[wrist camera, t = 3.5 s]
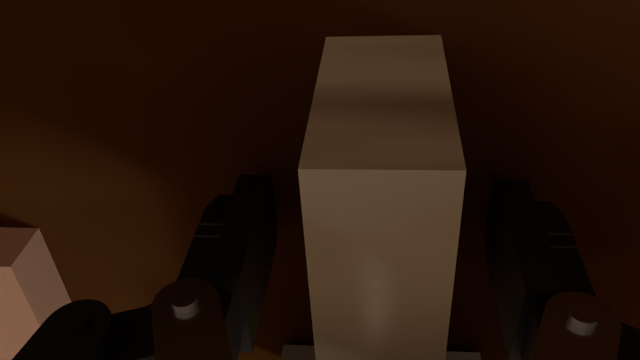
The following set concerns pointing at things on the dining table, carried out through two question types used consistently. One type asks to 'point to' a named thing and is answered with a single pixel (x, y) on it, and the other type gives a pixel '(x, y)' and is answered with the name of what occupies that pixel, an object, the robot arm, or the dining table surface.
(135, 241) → the dining table surface
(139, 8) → the dining table surface
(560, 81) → the dining table surface
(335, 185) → the beige rectangular block
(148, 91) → the dining table surface
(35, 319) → the tile
